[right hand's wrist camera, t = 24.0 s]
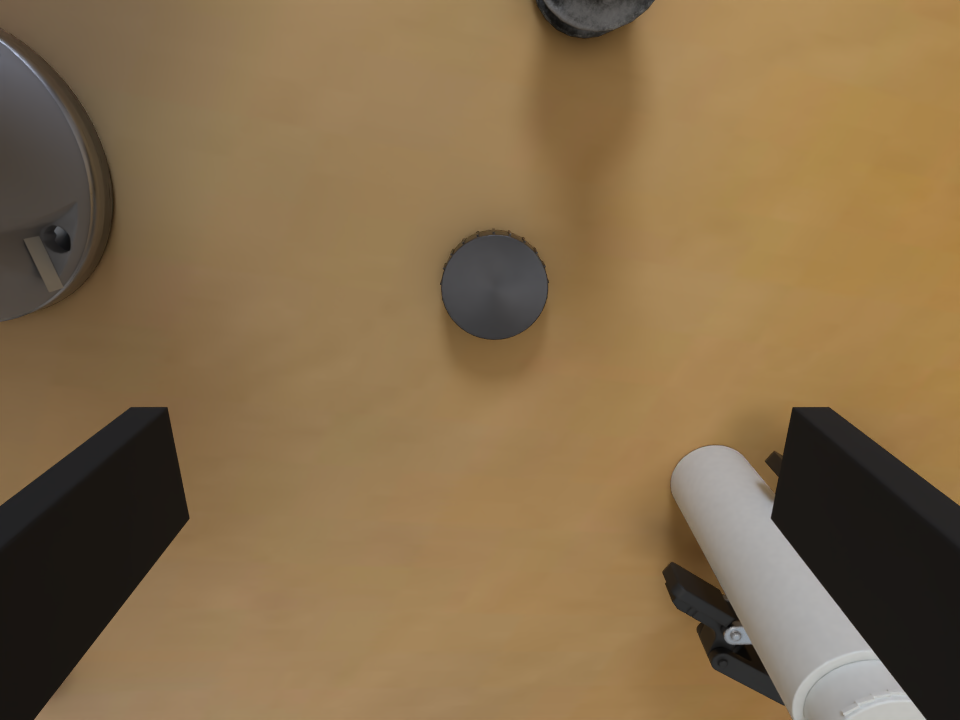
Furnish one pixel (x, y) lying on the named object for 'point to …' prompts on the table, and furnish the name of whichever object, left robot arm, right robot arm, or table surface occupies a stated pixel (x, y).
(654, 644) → the table surface
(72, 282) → the right robot arm
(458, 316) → the lid
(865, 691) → the jar
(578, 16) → the grey stepped tapered figure
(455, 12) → the table surface
